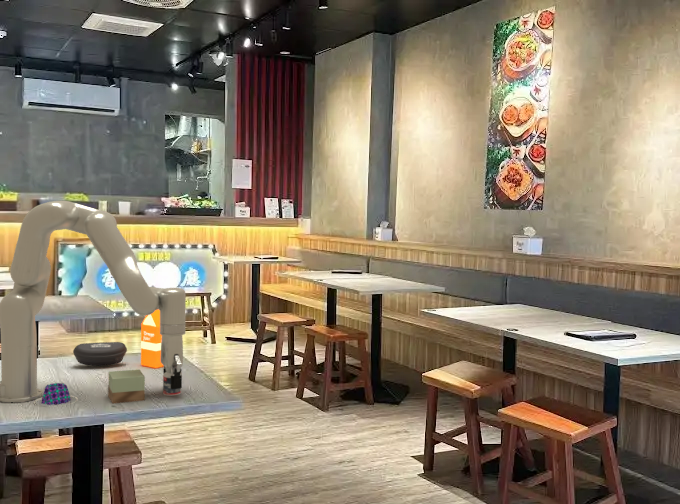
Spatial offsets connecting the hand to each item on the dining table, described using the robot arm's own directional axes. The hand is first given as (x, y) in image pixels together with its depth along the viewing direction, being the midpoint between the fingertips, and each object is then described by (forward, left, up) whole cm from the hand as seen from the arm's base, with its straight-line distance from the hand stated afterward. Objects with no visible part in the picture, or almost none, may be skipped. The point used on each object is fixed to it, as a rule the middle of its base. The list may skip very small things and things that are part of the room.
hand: (172, 384), depth 217 cm
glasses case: (-15, +47, -3) cm, 49 cm away
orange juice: (+4, +40, -3) cm, 40 cm away
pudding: (-33, +4, -4) cm, 33 cm away
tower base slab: (-14, -1, -3) cm, 14 cm away
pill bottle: (0, 0, -3) cm, 3 cm away
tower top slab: (-14, -1, +1) cm, 14 cm away
